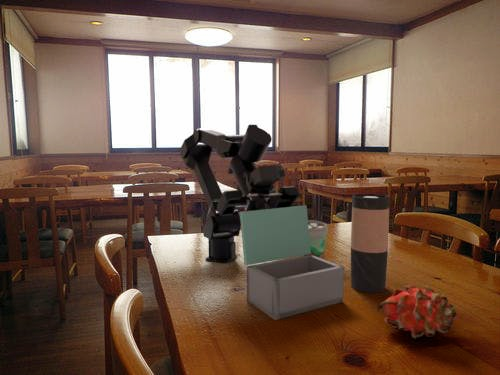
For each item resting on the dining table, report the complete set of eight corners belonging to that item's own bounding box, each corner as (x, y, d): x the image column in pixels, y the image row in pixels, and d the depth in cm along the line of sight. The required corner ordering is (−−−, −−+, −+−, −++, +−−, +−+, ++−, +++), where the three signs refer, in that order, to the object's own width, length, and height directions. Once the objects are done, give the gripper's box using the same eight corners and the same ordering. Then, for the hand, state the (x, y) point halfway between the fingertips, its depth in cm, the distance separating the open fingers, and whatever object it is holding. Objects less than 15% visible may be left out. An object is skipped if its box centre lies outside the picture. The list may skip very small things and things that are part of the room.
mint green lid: (246, 265, 76) (244, 264, 77) (311, 253, 84) (308, 253, 85) (242, 211, 76) (239, 212, 77) (306, 205, 84) (303, 205, 85)
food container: (327, 270, 95) (328, 230, 94) (302, 268, 97) (303, 229, 95) (328, 256, 107) (328, 220, 106) (305, 254, 109) (306, 219, 107)
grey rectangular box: (246, 300, 77) (246, 266, 76) (310, 285, 85) (311, 254, 84) (275, 320, 68) (275, 281, 67) (342, 301, 76) (343, 267, 75)
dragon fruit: (461, 351, 61) (381, 348, 65) (452, 303, 67) (379, 303, 71) (462, 323, 56) (375, 321, 60) (452, 274, 62) (373, 276, 66)
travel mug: (367, 296, 79) (370, 199, 77) (342, 284, 86) (344, 194, 83) (394, 289, 82) (398, 196, 80) (368, 278, 89) (370, 192, 87)
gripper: (222, 152, 80) (249, 213, 71) (295, 151, 89) (327, 205, 80) (207, 186, 87) (230, 245, 79) (276, 182, 96) (303, 234, 88)
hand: (274, 231), depth 81 cm, fingers closed
